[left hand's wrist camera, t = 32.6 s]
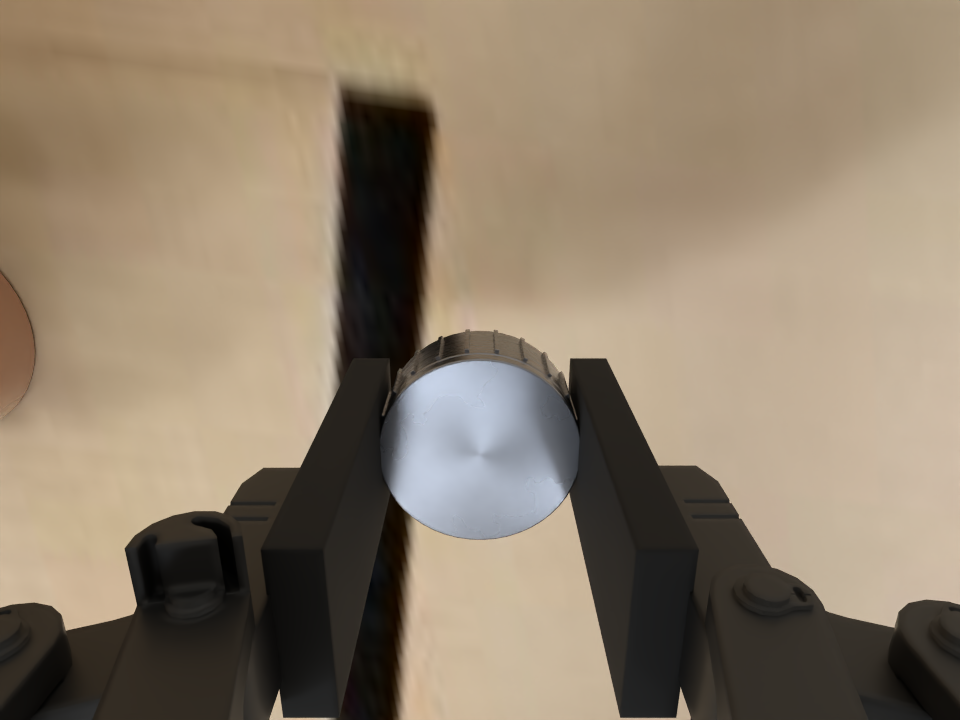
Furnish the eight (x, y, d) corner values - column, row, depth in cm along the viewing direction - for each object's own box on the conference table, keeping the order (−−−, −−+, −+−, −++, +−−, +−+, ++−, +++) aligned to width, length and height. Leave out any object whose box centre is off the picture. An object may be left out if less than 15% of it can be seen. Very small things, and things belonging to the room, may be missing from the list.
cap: (607, 444, 15) (621, 483, 13) (450, 525, 16) (447, 573, 14) (513, 291, 14) (517, 317, 12) (348, 388, 14) (332, 423, 13)
